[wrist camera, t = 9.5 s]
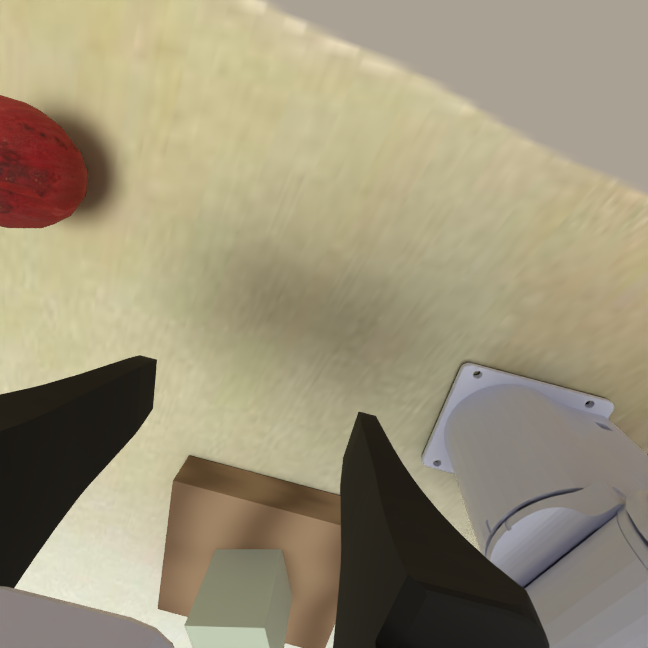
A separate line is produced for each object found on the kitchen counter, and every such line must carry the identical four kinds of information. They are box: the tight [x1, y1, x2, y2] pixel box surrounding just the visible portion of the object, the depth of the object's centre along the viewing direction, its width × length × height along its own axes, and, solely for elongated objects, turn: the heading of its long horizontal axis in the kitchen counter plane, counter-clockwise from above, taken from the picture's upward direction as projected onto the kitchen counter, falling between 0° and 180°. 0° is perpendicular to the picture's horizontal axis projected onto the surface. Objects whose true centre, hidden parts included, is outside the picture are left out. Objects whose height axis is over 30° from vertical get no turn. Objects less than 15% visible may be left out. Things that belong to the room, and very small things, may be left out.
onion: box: [0, 95, 88, 228], centre depth 17 cm, size 6×6×8 cm
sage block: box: [185, 549, 292, 648], centre depth 25 cm, size 5×5×5 cm
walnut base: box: [158, 456, 341, 648], centre depth 28 cm, size 14×14×2 cm
